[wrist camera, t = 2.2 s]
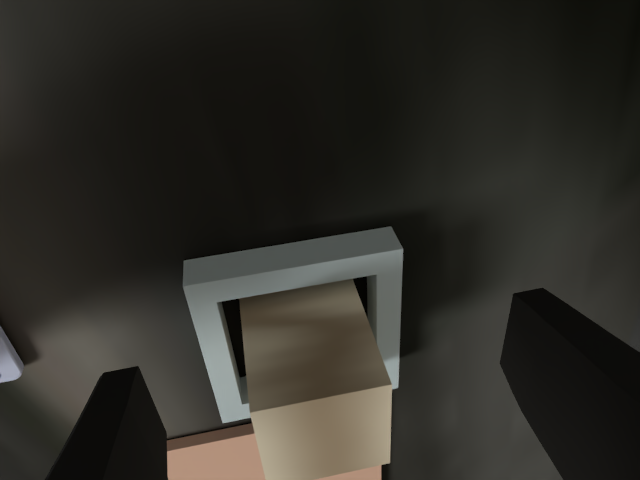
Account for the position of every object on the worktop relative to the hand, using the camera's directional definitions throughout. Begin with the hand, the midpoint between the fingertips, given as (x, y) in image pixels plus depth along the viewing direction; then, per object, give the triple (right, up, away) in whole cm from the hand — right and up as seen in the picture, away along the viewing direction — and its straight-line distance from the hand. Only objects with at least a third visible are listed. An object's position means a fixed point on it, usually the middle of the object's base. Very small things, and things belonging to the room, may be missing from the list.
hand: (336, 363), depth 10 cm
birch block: (-1, -1, +12) cm, 12 cm away
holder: (-1, -1, +12) cm, 12 cm away
